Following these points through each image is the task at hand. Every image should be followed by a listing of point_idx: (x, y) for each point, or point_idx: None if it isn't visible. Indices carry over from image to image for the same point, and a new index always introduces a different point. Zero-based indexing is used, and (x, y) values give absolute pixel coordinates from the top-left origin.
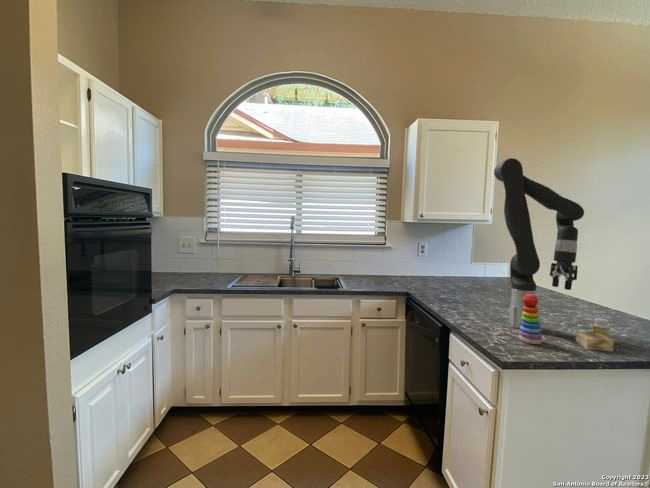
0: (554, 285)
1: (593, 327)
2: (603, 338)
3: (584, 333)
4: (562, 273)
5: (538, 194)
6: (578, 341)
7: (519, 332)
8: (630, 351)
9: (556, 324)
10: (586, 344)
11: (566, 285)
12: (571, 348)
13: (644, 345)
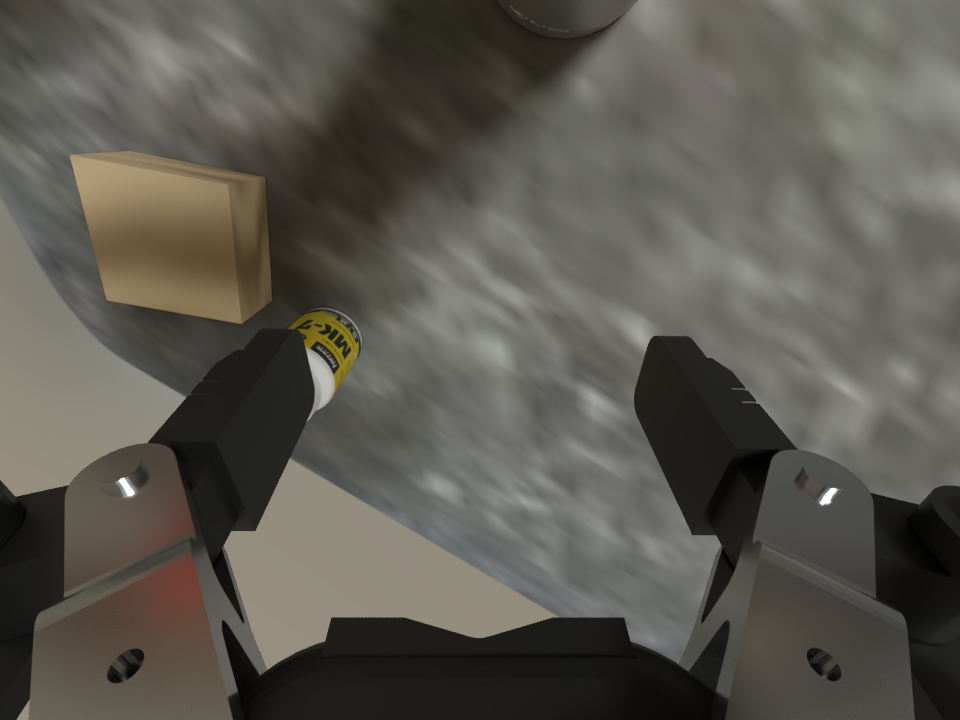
0: (655, 363)
1: (306, 338)
2: (129, 270)
3: (197, 216)
4: (185, 616)
5: None
6: (224, 171)
7: None
8: (193, 361)
9: (619, 280)
10: (114, 154)
11: (234, 375)
12: (103, 48)
13: (305, 467)
